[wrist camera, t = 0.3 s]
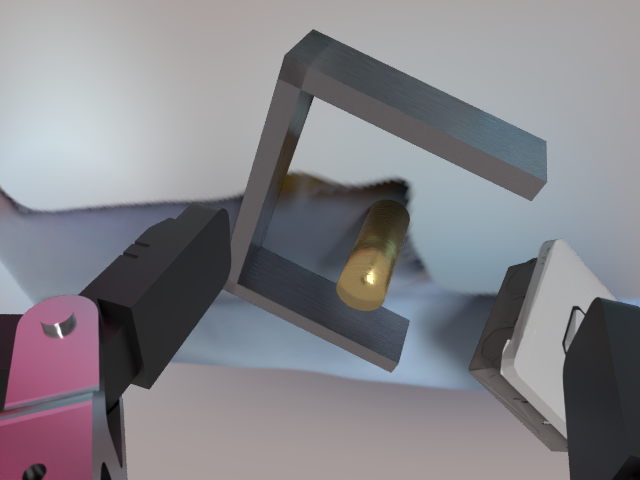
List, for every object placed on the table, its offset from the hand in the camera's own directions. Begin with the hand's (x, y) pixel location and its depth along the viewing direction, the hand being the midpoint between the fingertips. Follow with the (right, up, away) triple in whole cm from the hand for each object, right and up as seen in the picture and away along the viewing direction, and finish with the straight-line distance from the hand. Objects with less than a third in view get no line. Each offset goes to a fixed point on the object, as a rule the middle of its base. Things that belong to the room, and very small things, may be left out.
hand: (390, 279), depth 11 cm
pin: (+3, +2, +21) cm, 21 cm away
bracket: (+2, +3, +21) cm, 21 cm away
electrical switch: (+14, -3, +21) cm, 25 cm away
